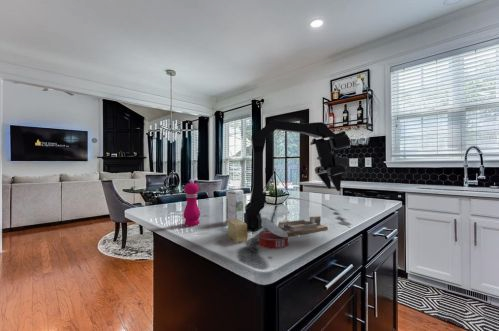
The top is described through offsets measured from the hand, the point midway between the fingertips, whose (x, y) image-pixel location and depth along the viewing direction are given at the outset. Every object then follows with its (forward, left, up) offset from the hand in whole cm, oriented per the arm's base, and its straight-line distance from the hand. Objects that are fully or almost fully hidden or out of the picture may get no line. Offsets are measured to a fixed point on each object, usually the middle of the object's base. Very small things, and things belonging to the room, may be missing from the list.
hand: (334, 189), depth 100 cm
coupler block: (-24, -34, -15) cm, 45 cm away
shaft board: (-10, -12, -15) cm, 22 cm away
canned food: (-11, -32, -16) cm, 37 cm away
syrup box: (-40, -15, -16) cm, 46 cm away
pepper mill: (-53, -29, -16) cm, 63 cm away
